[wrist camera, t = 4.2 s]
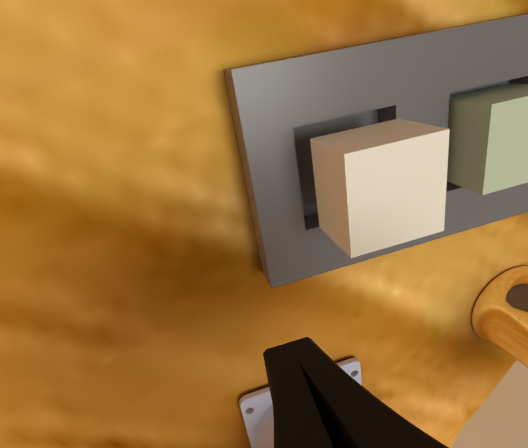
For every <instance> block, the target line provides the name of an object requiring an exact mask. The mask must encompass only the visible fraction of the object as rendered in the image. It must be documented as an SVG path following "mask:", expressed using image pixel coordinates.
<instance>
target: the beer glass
mask: <svg viewBox="0 0 528 448" xmlns="http://www.w3.org/2000/svg"><path fill="white" fill-rule="evenodd" d="M472 326H473V329H474V331H475V332H476V333H477V335H478V336H480V337H481V338H482V339H484V340H485V341H487V342H489V343H490V344H492V345H494V346H496V347H497V348H499V349H501V350H503V351H504V352H506V353H508V354H509V355H511V356H512V357H514V358H515V359H517V360H518V361H520V363H522V364H523V365H525V366H526V367H527V368H528V266H520V267H515V268H512V269H510V270H507V271H505V272H503V273H502V274H500V275H499V276H497V277H496V278H495V279H494V280H492V281H491V282H490V283H489V284H488V285H487V286H486V287H485V289H484V290H483V291H482V293H481V294H480V296H479V297H478V299H477V301H476V303H475V305H474V308H473V312H472Z"/></svg>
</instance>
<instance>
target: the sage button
mask: <svg viewBox="0 0 528 448" xmlns="http://www.w3.org/2000/svg"><path fill="white" fill-rule="evenodd" d="M448 129H450V132H449V150H448V168H447V182H450V183H453V184H455V185H458V186H460V187H463V188H465V189H468V190H471V191H473V192H476V193H478V194H481V195H485V194H488V193H492V192H496V191H499V190H503V189H506V188H510V187H513V186H517V185H520V184H524V183H527V182H528V84H513V83H510V84H506V85H501V86H497V87H492V88H488V89H483V90H479V91H474V92H470V93H465V94H461V95H456V96H452V97H449V114H448Z"/></svg>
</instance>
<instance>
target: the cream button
mask: <svg viewBox="0 0 528 448" xmlns="http://www.w3.org/2000/svg"><path fill="white" fill-rule="evenodd" d="M449 132H450V129H448V128H443V127H438V126H433V125H428V124H423V123H419V122H414V121H409V120H404V119H399V118H398V119H394V120H390V121H385V122H381V123H376V124H372V125H368V126H363V127H359V128H355V129H350V130H346V131H341V132H337V133H333V134H328V135H324V136H320V137H315V138H311V139H310V144H311V153H312V162H313V172H314V181H315V190H316V200H317V209H318V218H319V227H320V228H321V229H322V230H323V231H324V232H325V233H326V234H327V235H328V236H329V237H330V238H331V239H332V240H333V241H334V242H335V243H336V244H337V245H338V246H339V247H340V248H341V249H342V250H343V251H344V252H345V253H346V254H347V255H348V256H349V257H350V258H354V257H357V256H360V255H364V254H367V253H371V252H374V251H377V250H381V249H384V248H388V247H391V246H394V245H398V244H401V243H404V242H408V241H411V240H415V239H418V238H421V237H425V236H428V235H432V234H435V233H438V232H442V231H444V221H445V203H446V185H447V168H448V150H449Z"/></svg>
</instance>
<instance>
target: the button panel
mask: <svg viewBox="0 0 528 448" xmlns="http://www.w3.org/2000/svg"><path fill="white" fill-rule="evenodd" d="M224 74H225V79H226V84H227V89H228V95H229V100H230V105H231V110H232V115H233V120H234V126H235V131H236V136H237V141H238V146H239V152H240V157H241V162H242V167H243V172H244V178H245V183H246V188H247V193H248V198H249V203H250V209H251V214H252V219H253V224H254V229H255V235H256V240H257V245H258V250H259V255H260V261H261V266H262V271H263V273H264V275H265V277H266V279H267V281H268V283H269V284H270V286H271V288H274V287H278V286H281V285H284V284H288V283H291V282H294V281H298V280H301V279H304V278H308V277H311V276H314V275H318V274H321V273H324V272H328V271H331V270H335V269H338V268H341V267H345V266H348V265H351V264H355V263H358V262H361V261H365V260H368V259H371V258H375V257H378V256H381V255H385V254H388V253H391V252H395V251H398V250H401V249H405V248H408V247H412V246H415V245H418V244H422V243H425V242H428V241H432V240H435V239H438V238H442V237H445V236H448V235H452V234H455V233H458V232H462V231H465V230H468V229H472V228H475V227H478V226H482V225H485V224H489V223H492V222H495V221H499V220H502V219H505V218H509V217H512V216H515V215H519V214H522V213H525V212H528V182H527V183H524V184H520V185H517V186H513V187H510V188H506V189H503V190H499V191H496V192H492V193H488V194H485V195H481V194H478V193H476V192H473V191H471V190H468V189H465V188H463V187H460V186H458V185H455V184H453V183H450V182H447V185H446V203H445V221H444V231H442V232H438V233H435V234H432V235H428V236H425V237H421V238H418V239H415V240H411V241H408V242H404V243H401V244H398V245H394V246H391V247H388V248H384V249H381V250H377V251H374V252H371V253H367V254H364V255H360V256H357V257H354V258H350V257H349V256H348V255H347V254H346V253H345V252H344V251H343V250H342V249H341V248H340V247H339V246H338V245H337V244H336V243H335V242H334V241H333V240H332V239H331V238H330V237H329V236H328V235H327V234H326V233H325V232H324V231H323V230H322V229H321V228H320V227H319V218H318V209H317V200H316V190H315V181H314V172H313V162H312V153H311V144H310V139H311V138H315V137H320V136H324V135H328V134H333V133H337V132H341V131H346V130H350V129H355V128H359V127H363V126H368V125H372V124H376V123H381V122H385V121H390V120H394V119H398V118H399V119H404V120H409V121H414V122H419V123H423V124H428V125H433V126H438V127H443V128H448V114H449V97H452V96H456V95H461V94H465V93H470V92H474V91H479V90H483V89H488V88H492V87H497V86H501V85H506V84H510V83H513V84H528V13H526V14H520V15H515V16H510V17H504V18H499V19H493V20H488V21H483V22H477V23H472V24H466V25H461V26H456V27H450V28H445V29H439V30H434V31H429V32H423V33H418V34H413V35H407V36H402V37H396V38H391V39H386V40H380V41H375V42H369V43H364V44H359V45H353V46H348V47H342V48H337V49H332V50H326V51H321V52H316V53H310V54H305V55H299V56H294V57H289V58H283V59H278V60H272V61H267V62H262V63H256V64H251V65H245V66H240V67H235V68H229V69H224Z"/></svg>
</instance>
